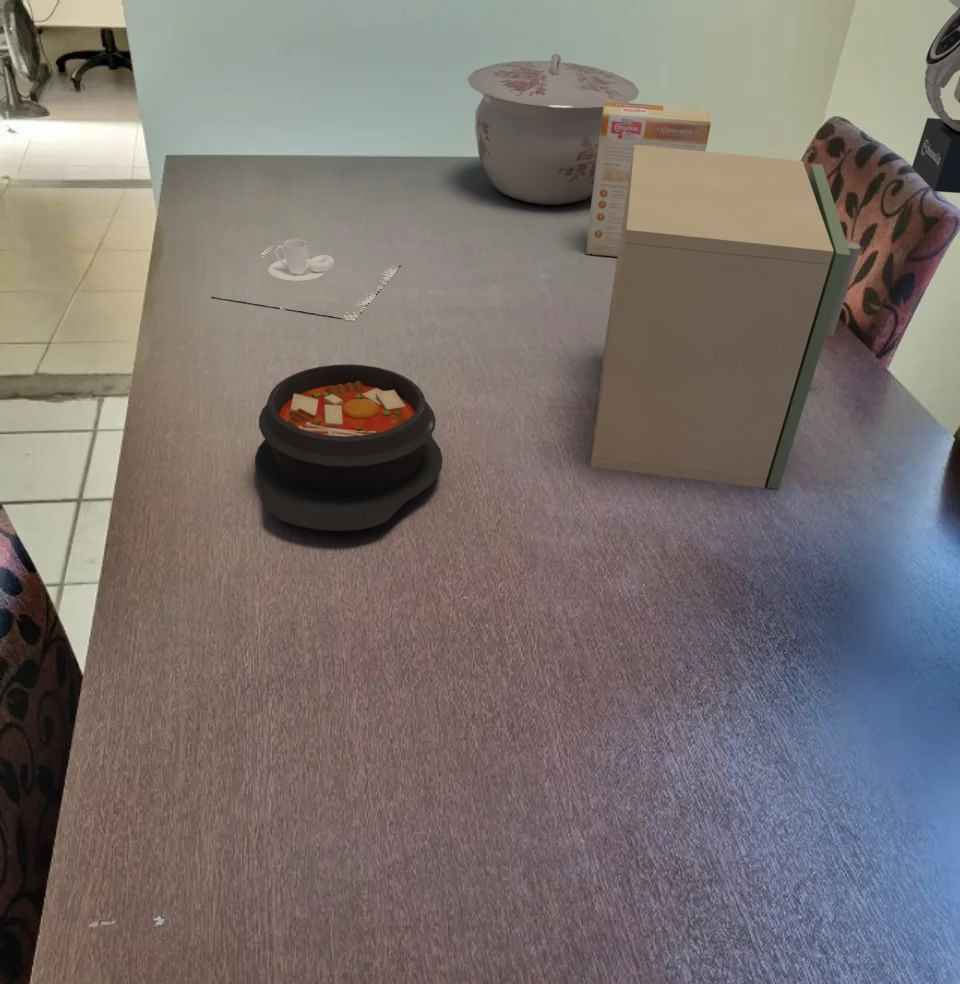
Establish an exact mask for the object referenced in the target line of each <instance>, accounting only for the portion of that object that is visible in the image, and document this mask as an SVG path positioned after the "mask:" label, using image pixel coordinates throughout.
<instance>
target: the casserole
mask: <svg viewBox="0 0 960 984" xmlns="http://www.w3.org/2000/svg"><path fill="white" fill-rule="evenodd" d="M436 421H437V419H436V417H435V412H434V411H433V409H432V407H431V405H430V404H429V403H428V402H427V400H426V397H425V395H424V393H423V391H422V390H421V388H420V386H418V385H417V384H415V383H414V381H412V380H411V379H409V378H407V377H406V376H404V375H402V374H400V373H398V372H395V371H392V370H389V369H386V368H381V367H377V366H372V365H364V364H352V363H351V364H331V365H330V364H329V365H321V366H317V367H312V368H308V369H304V370H302V371H299V372H296V373H294V374H292V375H290V376H287V377H286V378H284V379H283V380H281V381H280V382H279V383H277V384H276V385H275V386H274V387H273V388H272V390H271V391H270V393H269V395H268V398H267V402H266V404H265V406H263V408H262V409H261V411H260V414H259V417H258V428H259V431H260V433H261V435H262V437H263V438H264V440H263V441H262V442H261V444H260V445H259V446H258V448H257V450H256V453H255V456H254V467H255V471H256V473H257V476H258V479H259V480H260V483H261V486H262V499H263V508H264V509H265V510H266V512H267V513H268V514H269V515H270V516H272V517H274V518H276V519H277V520H280V521H281V522H284V523H287V524H291V525H293V526H296V527H300V528H306V529H312V530H316V531H328V532H329V531H330V532H331V531H332V532H344V531H345V532H346V531H347V532H349V531H360V530H365V529H371V528H375V527H378V526H379V525H382V524H384V523H387V522H388V521H389V520H390V519H391V518H392V517H393V516H394V515H395V514H396V513H397V512H398V511H399V510H400V509H401V508H402V506H404V505H405V504H406V503H407V502H409V501H410V500H412V499H414V497H416V496H418V495H419V494H420V493H423V492H424V491H426V490H427V489H428V488H429V487H430V486H431V485H433V484H434V482H435V481H436V480H437V479H438V477H439V475H440V473H441V470H442V469H443V459H444V458H443V454H442V451H441V448H440V446H439V445H438V443H437V442H436V440H435V439H434V437H433V436H432V434H433V432H434V431H435V429H436Z"/></svg>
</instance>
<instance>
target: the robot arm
mask: <svg viewBox="0 0 960 984" xmlns="http://www.w3.org/2000/svg"><path fill="white" fill-rule="evenodd" d="M948 2H949V3H950V4H952V5H953V6H954V7H955V8H957V10H958V9H959V8H960V0H948ZM953 97H954V99H955V100H956V101H957V103H959V104H960V76H959V77H958V80H957V83H956V85H955V88H954V92H953Z"/></svg>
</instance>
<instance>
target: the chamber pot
mask: <svg viewBox="0 0 960 984" xmlns="http://www.w3.org/2000/svg"><path fill="white" fill-rule="evenodd" d="M561 60H562V57H561V56H560V54H558V53H554V54H552V55H551V58H550V60H520V61H519V60H518V61H515V60H514V61H507V62H500V63H495V64H491V65H488V66H484V67H481V68H479V69H475V70H474V71H473V72H472V73H470V75H469V76H468V77H467V81H468V84H469V86H470V87H471V88H472V89H473V90H475V91H476V92H477V93H480V94H481V95H483V97H482V98H481V100H480V102H479V104H478V106H477V108H476V109H475V114H474V131H475V132H474V134H475V141H476V147H477V153H478V157H479V160H480V162H481V164H482V166H483V169H484V170H485V172H486V175H487V177H488V178H489V180H490V183H491V184H492V185H493V187H494V188H495V189H496V190H498V191H499V192H500V193H501V194H503V195H506V196H508V197H510V198H512V199H515V200H517V201H520V202H523V203H527V204H531V203H532V204H531V205H538V204H540V206H563V204H564V205H568V204H572V203H577V202H579V201H584V200H586V199H587V198H590V197H592V194H593V186H594V177H595V169H596V161H597V153H598V145H599V136H600V128H601V120H602V113H603V106H604V101H611V102H623V103H631V102H633V101H634V100H636V99H637V98H638V95H639V93H640V90H639V88H638V87H637V86H636V85H635V83H633V81H631V80H629V79H627V78H625V77H623V76H621V75H618V74H616V73H614V72H612V71H609V70H604V69H601V68H598V67H593V66H588V65H583V64H577V63H572V62H564V61H561Z"/></svg>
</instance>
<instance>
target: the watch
mask: <svg viewBox="0 0 960 984" xmlns="http://www.w3.org/2000/svg"><path fill="white" fill-rule="evenodd" d="M925 64H926V65H927V67H926V69H925V72H924V75H925V76H924V87H925V94H926V99H927V101H928V104H929V105H930V108H931V110H932V111H933V113H934V114H935V115H936V116H937V117H938V118H934V117H933V118H932V117H927V118H926V121H925V124H924V128H923V131H922V134H921V137H920V141H919V143H918V146H917V149H916V153H915V156H914V159H913V163H912V166H911V168H912V169H913V170H914V171H915V173H917V175H918V176H919V177H920V178H921V179H922V180H923V181H924V182H925V183H926V184H927V185H928V186H929V188H930V189H931V190H932V191H933V192H938V193H952V194H960V119H954V118H952V117H951V116H950V115H949V114H948V113H947V111H946V110H945V106H944V103H943V99H942V98H941V96H942V91H941V89H944V88H945V87H946V86H947V85H949V82H950V81H951V79H952V78H953V76H954V74H956V73H958V72H959V71H960V8H959V9H958V8H957V9H956V11H955V12H954V13H953V14H952V15H951V16H950V17H949V19H947V21H946V22H945V24H944V25H943V26H942V27H941V29H940V30H939V31H938V32H937V34H936V36H935V38H933V40H932V43H931V44H930V46H929V48H928V51H927V54H926V56H925Z"/></svg>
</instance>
